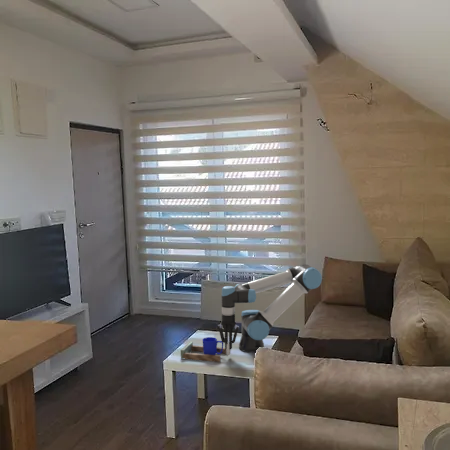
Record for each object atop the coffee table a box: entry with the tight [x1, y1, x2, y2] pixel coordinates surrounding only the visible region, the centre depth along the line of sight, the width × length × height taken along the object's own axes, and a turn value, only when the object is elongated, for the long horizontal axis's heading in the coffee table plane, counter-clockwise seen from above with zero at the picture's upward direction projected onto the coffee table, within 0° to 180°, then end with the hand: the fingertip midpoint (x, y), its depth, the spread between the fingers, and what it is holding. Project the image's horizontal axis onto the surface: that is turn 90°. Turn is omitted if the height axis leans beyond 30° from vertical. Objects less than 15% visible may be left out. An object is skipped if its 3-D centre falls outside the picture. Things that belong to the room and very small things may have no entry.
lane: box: [180, 341, 227, 363], centre depth 273 cm, size 23×15×5 cm, turn 75°
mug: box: [202, 336, 224, 355], centre depth 272 cm, size 8×12×10 cm
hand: (228, 354), depth 269 cm, fingers closed
